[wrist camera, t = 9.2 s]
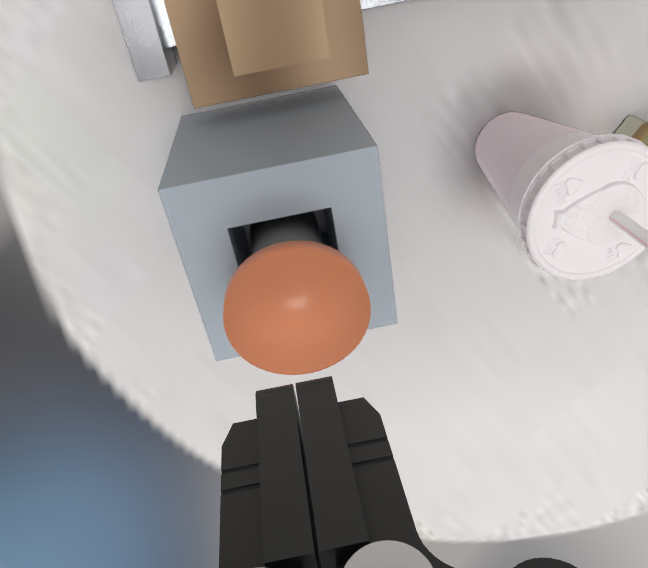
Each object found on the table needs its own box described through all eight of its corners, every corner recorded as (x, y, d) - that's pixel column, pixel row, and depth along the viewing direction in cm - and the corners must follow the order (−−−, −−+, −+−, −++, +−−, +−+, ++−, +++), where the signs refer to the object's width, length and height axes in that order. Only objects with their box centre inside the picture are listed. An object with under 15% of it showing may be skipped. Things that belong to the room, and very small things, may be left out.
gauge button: (331, 165, 24) (361, 237, 18) (347, 266, 26) (378, 358, 21) (213, 189, 24) (205, 269, 18) (242, 288, 26) (243, 387, 20)
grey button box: (336, 85, 29) (377, 145, 20) (356, 225, 33) (397, 323, 25) (181, 116, 29) (157, 190, 20) (222, 252, 33) (216, 361, 24)
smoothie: (552, 193, 34) (723, 330, 22) (447, 203, 33) (564, 350, 21) (571, 81, 30) (786, 171, 18) (455, 90, 30) (599, 189, 18)
